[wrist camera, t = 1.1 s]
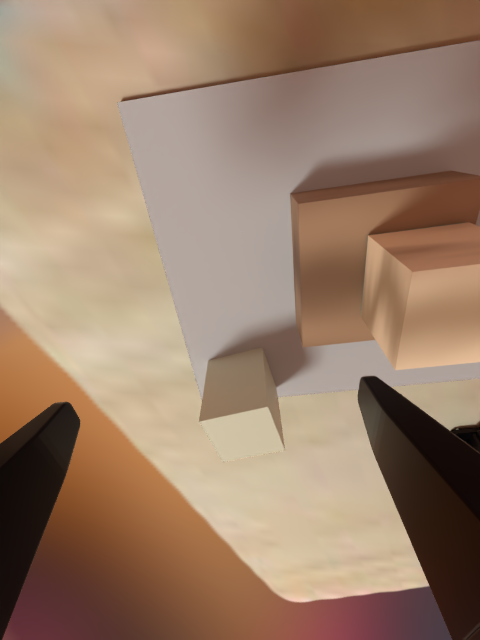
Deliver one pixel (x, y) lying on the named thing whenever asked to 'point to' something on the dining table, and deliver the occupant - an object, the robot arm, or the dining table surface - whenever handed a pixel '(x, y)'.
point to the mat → (274, 194)
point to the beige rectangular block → (241, 406)
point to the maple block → (424, 295)
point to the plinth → (361, 242)
